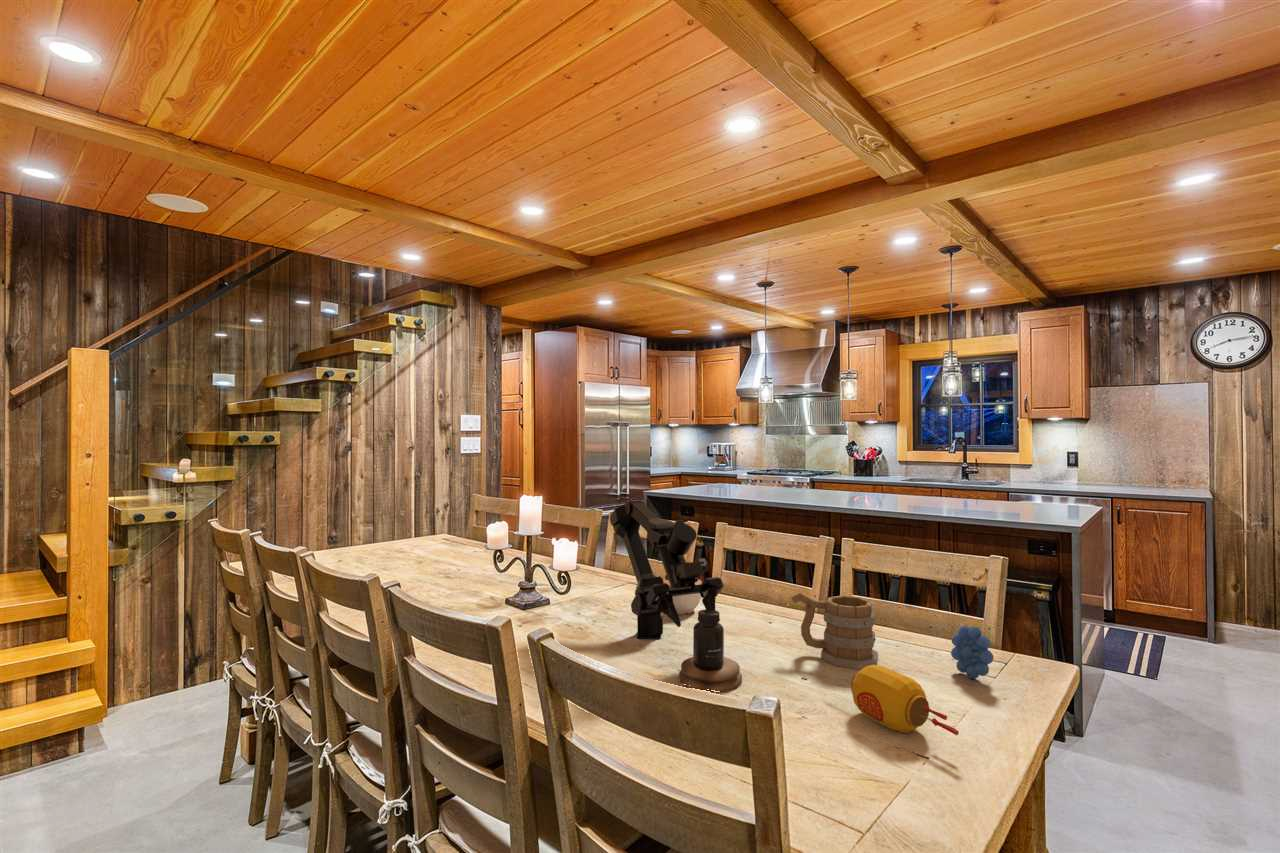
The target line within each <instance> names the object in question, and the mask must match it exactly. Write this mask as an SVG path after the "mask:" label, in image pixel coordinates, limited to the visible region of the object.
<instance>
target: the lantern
mask: <svg viewBox="0 0 1280 853" xmlns="http://www.w3.org/2000/svg"><path fill="white" fill-rule="evenodd" d="M829 671H830V672H832V673H835V674H837V675H839V676H842V677H843V678H846V679H847V680H850V681H851V683H850V689H851V693H852V694H851V695H852V699H853V703H854V705H855V706H856V707H857V709H858V710H859V711H860V712H861V713H862V715H863V716H865V717H868V718H870V719H872V720H873V721H874V722H876V723H879V724H880V725H882V726H884V727H886V728H888V729H890V730H893V731H896V732H898V731H899V733H903V734H905V733H910V732H912V731H915V730H917V729H918V728H919V727H921V726H923V725H924V724H925V723H926V721H927V720H928V721H929V722H931V723H932V724H933V725H934V727H937V726H939V728H942V729H944V730H946V731H948V732H949V733H951V734H953V735H955V736H958V735H959V734H960V732H959V730H958V729H956V728H955V727H953V726H951V725H947V724H945V723H942V722H941V721H938V720H937V718H929V714H930V713H931V714H933V715H935V716H937V717H939V718H940V719H942V720H943V721H946V720H947V719H948V716H947V714H943V713H941V712H938V711H936V710H933V709H931V708H930V703H929V701H928V700H927V699H928V698H927V696H926V693H925V690H924V689H923V687H922V686H921V684H920V683H918V681H916V680H915V679H914V678H911V677H909V676H906V675H904V674H903V673H900V672H897V671H895V670H892V669H889V668H888V667H885V666H883V665H879V664H877V665H870V666H866V667H864V668H863V669H859V671H857V672H856V673H855V674H854V675H853V677H852V678H850V677H848V676H846V675H844V674H843V673H840V672H838V671H836V670H833V669H832V668H830V669H829Z"/></svg>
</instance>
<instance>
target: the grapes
mask: <svg viewBox="0 0 1280 853" xmlns="http://www.w3.org/2000/svg"><path fill="white" fill-rule="evenodd" d="M982 633H983V632H982V630H981V628H980V627H978V626H976V625H972V626H970V627H969V626H968V625H961V626H959V628H958V632H957V633H955V634H953V635H952V638H951V643H952V644H953V648H952V649H951V651H950V655H951V658H953V660H955V661H957V662H956V669H957V671H959V672H960V673H963V674H966V676H967V677H968V678H969V679H971V678H972V679H971V680H977V678H979V676H980V677H985V676H987V675H988V674H989V672H990V666H989V665H990V664H991V663H993V661H994V655H993V652H991V651H990V650H989V648H991V647H990V646H991V640H990V639H989V637H988V636H986V635H983V634H982Z"/></svg>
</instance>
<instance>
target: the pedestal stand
mask: <svg viewBox="0 0 1280 853" xmlns="http://www.w3.org/2000/svg"><path fill="white" fill-rule="evenodd" d="M740 670H741V669H740V665H739V663H738V662H736V661H735V660H733V659H732V658H728V657H725V656H724V664H723V667H722V668H721V669H719V670H715V671H706V670H701V669H698V668H696V667H695V666H694V664H693V656H691V657H688V658H686V659H684V660H683V661H682V662H681V665H680V671H679V673H678V680H680V681H679V683H680V684H681V683H683V684H686V685H683V687H686V688H687V687H689V688H695V689H700V690H706V691H710V692H714V691H711V690H715V691H720V693H726V691H727V692H730V691H733V690H736V689H737V687H738V686H739V687H740V686H741V685H742V683H743V676H742V673H741V671H740ZM689 685H690V686H689ZM739 687H738V688H739ZM689 688H688V689H689ZM707 689H709V690H707ZM717 693H719V692H716V693H715V694H717Z"/></svg>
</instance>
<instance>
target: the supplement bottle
mask: <svg viewBox="0 0 1280 853" xmlns="http://www.w3.org/2000/svg"><path fill="white" fill-rule="evenodd" d="M697 621H698V622H696V623H695V624H694V626H693V629H692V630H693V632H692V633H693V638H692V639H693V644H692V648H693V651H692V655H693V656H692V657H693V664H694V666H695V667H696V668H698V669H701V670H706V671H715V670H719V669H721V668H722V667H723V664H724V657H725V655H724V654H725V649H724V648H725V646H724V645H725V629H724V626H723V625H722V624H721V623H720V621H721V619H720V611H719V610H716V609H715V610H710V609H706V608H705V609H700V610H698V612H697Z"/></svg>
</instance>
